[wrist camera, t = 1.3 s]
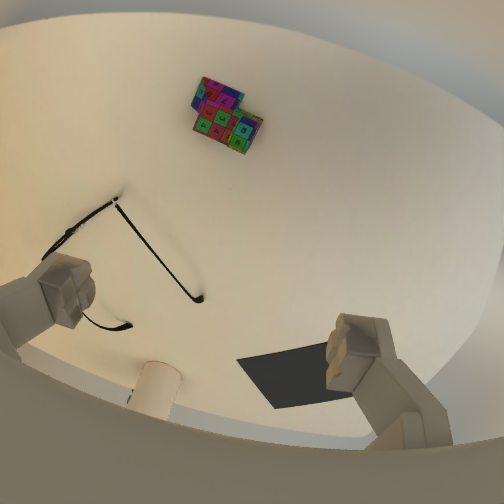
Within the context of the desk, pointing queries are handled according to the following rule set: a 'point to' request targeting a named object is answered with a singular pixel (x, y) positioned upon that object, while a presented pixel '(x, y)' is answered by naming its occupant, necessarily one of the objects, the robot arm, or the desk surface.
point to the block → (224, 116)
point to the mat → (292, 376)
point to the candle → (155, 390)
